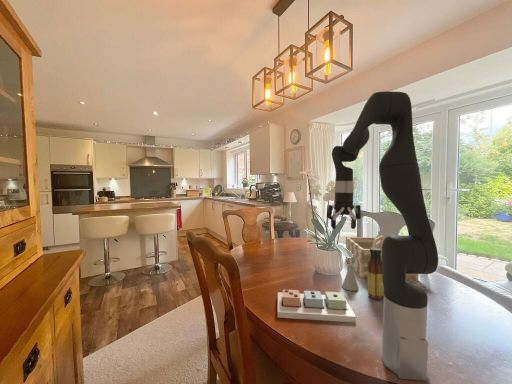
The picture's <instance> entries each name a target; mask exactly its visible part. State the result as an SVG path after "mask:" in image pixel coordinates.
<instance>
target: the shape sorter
mask: <svg viewBox="0 0 512 384" xmlns="http://www.w3.org/2000/svg"><path fill="white" fill-rule="evenodd" d="M373 238H374V243H373V247H372V248H379V249H381V250H382V244H383V241H384V239H385V238H386V236H385V235H379V236H377V237H373ZM380 239H381V240H380ZM378 240H380V241H378ZM377 241H378V242H377Z"/></svg>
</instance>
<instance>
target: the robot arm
mask: <svg viewBox="0 0 512 384" xmlns="http://www.w3.org/2000/svg"><path fill="white" fill-rule="evenodd" d="M369 96H370V97H369V98H367V101H366V102H365V103H364V106H363V108H362V111H361V112H360V114H359V116H358V117H357V121H356V122H355V125H354V127H353V128H352V130H351V131H350V133H349V134H348V136H347V137H346V139H344V141H343V144H342V145H341V144H340V145H335V146H334V147H333V148H332V151H331V157H332V162H333V165H334V170H335V184H334V185H335V186H334V204H328V205H327V206H326V207H327V208H326V209H327V210H326V218H327V219H329V220H330V227H331V228H332V229H334V230H335V229H337V218H338V217H339V216H349V217H350V218H351V219H350V229H352V230H355V229H356V227H357V221H358V220H361V219H362V214H361V211H362V210H361V205H359V204H355V205H354V170H353V168H352V167H349V166H346V165H344V163H353V162H354V161H356V160H357V159H358V158H359V157H358V155H359V154H360V151H361V150H362V149H363V148H364V147H365V146H366V145H367V144H368V142H369V140H370V130H369V127H370V126H371V125H388V126H389V125H390V126H391V132H392V134H391V135H392V139H391V141H390V143H389V145H388V147H387V149H386V151H385V152H384V154H383V156H382V157H381V159H380V162H379V166H378V169H379V170H378V171H379V177H380V179H379V180H380V186H381V191H383V193H384V194H385V197H386V198H387V199H388V200H389V201H390V202H391V203H392V204H393V206H394V207H395V208H396V210H397V211H398V212H399V213H400V214H401V216H402V218H403V220H404V222H405V225H406V228H407V229H406V230H407V234H408V235H396V234H395V235H388V236H385V239H384V241H383V244H382V280H383V287H384V299H383V302H382V303H383V305H382V306H383V308H382V309H383V311H382V339H381V341H382V343H381V344H382V346H381V347H382V348H381V349H382V351H381V359H382V362H383V364H384V366H386V367H387V369H389V370H390V372H392V373H394V374H395V375H396V376H397V377H398V378H399V379H403V380H412V381H413V380H415V381H421V382H423V381H425V382H426V381H427V380H428V379H427V378H428V377H427V376H428V375H427V374H428V354H429V353H428V351H429V349H428V347H429V342H428V341H427V326H428V324H427V323H428V322H427V321H428V304H429V303H428V301H429V299H428V293H427V292H426V291H425V290H424V289H423V288H422V287H420V286H419V285H416V284H415V283H412V282H409V281H407V280H406V274H418V275H431V274H433V273H434V272H436V270H437V269H438V266H439V253H438V248H437V244H436V240H435V237H434V236H435V235H434V233H433V229H432V226H431V223H430V219H429V217H428V213H427V208H426V204H425V197H424V193H423V185H422V179H421V173H420V167H419V163H418V157H417V151H416V146H415V141H414V140H415V139H414V138H415V137H414V131H413V130H414V129H413V128H414V127H413V126H414V125H413V110H412V109H413V108H412V101H411V98H410V96H409V94H408V93H406V92H403V91H389V90H388V91H386V90H385V91H376V92H374V93H372V94H371V95H369ZM333 210H334V212H333ZM353 210H354V212H353Z"/></svg>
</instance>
